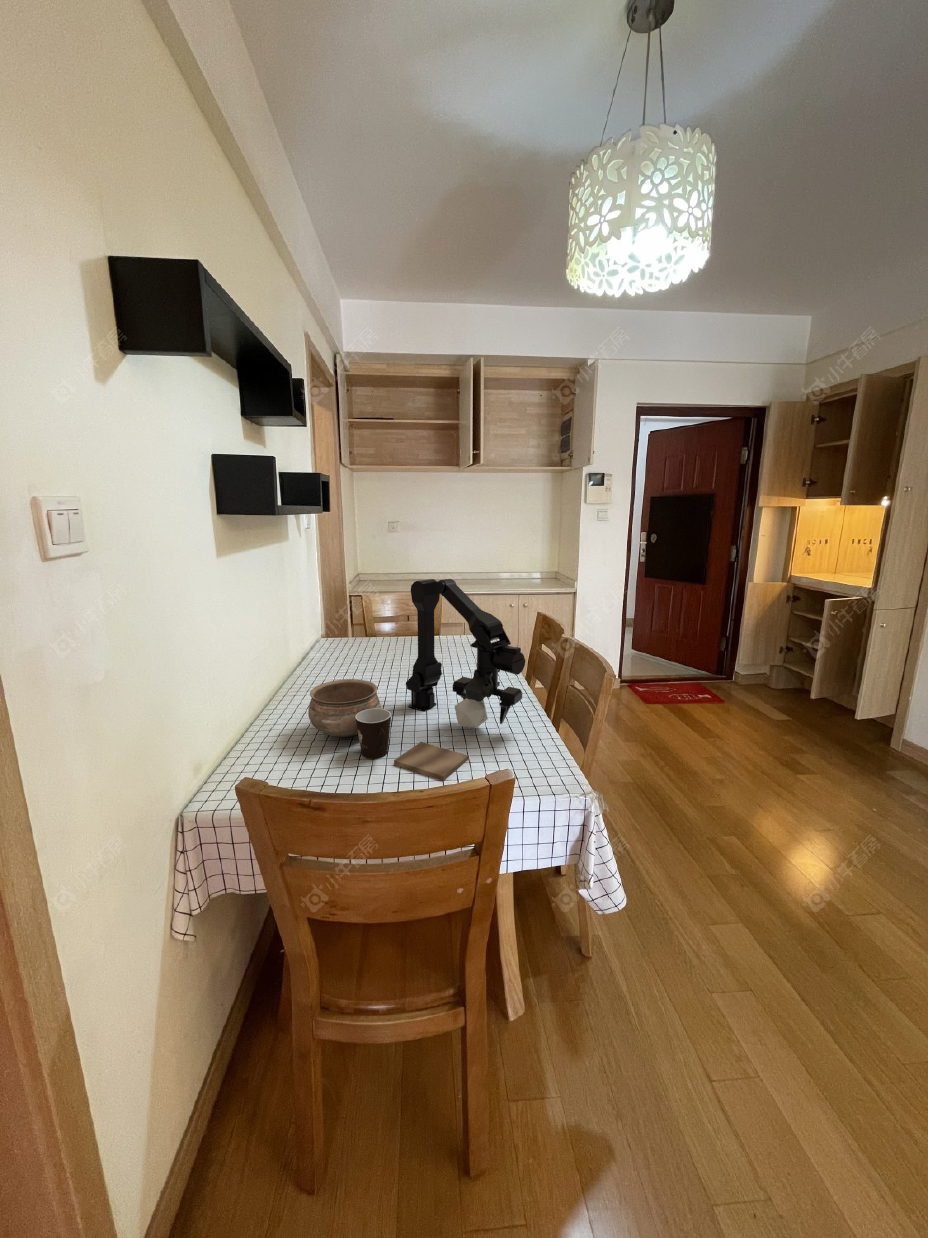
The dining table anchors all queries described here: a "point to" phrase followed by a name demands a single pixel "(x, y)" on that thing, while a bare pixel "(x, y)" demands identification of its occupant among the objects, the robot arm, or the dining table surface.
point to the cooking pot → (341, 705)
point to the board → (431, 761)
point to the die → (471, 713)
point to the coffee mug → (373, 732)
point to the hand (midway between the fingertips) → (486, 719)
